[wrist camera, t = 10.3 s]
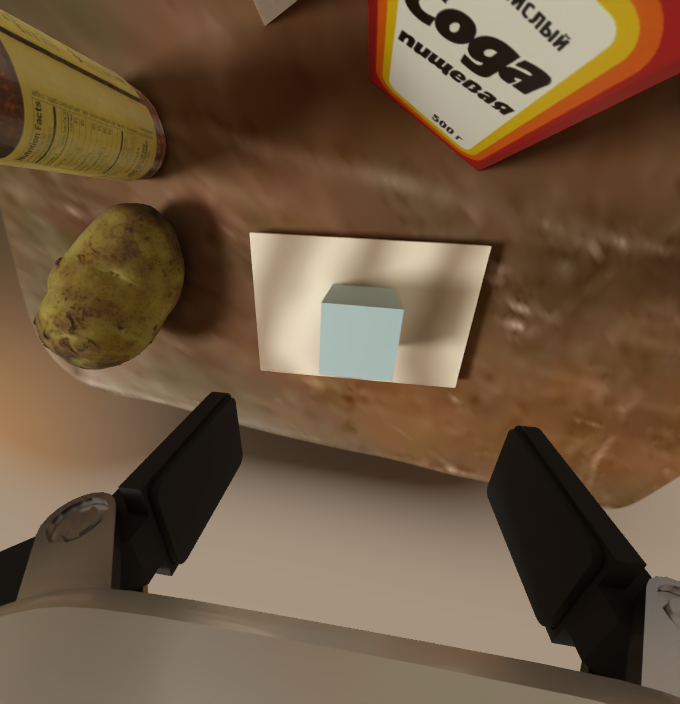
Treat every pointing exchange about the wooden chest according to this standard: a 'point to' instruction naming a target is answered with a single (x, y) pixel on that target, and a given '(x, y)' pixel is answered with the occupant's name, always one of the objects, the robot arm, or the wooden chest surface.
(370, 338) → the teal block
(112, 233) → the potato
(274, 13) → the milk
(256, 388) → the wooden chest surface
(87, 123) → the sauce bottle
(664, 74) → the baking soda box
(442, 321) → the birch board
